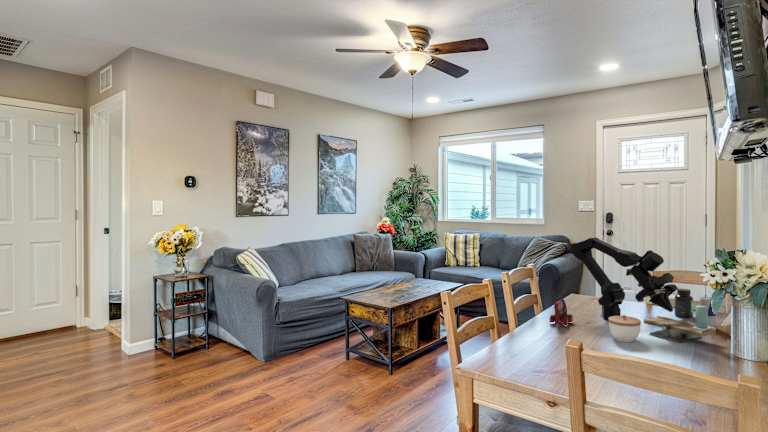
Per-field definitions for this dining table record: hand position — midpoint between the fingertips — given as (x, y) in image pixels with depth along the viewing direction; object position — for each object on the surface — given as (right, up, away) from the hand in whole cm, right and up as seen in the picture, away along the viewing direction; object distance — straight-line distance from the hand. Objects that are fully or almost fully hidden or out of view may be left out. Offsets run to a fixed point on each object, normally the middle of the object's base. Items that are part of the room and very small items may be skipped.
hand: (671, 311), depth 165 cm
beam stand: (+1, -9, -1) cm, 9 cm away
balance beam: (+1, -6, -2) cm, 6 cm away
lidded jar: (-20, -10, -3) cm, 23 cm away
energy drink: (+20, -9, +8) cm, 23 cm away
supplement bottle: (+22, -8, +25) cm, 34 cm away
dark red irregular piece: (-35, -10, +19) cm, 41 cm away
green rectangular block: (+4, -5, -10) cm, 12 cm away
